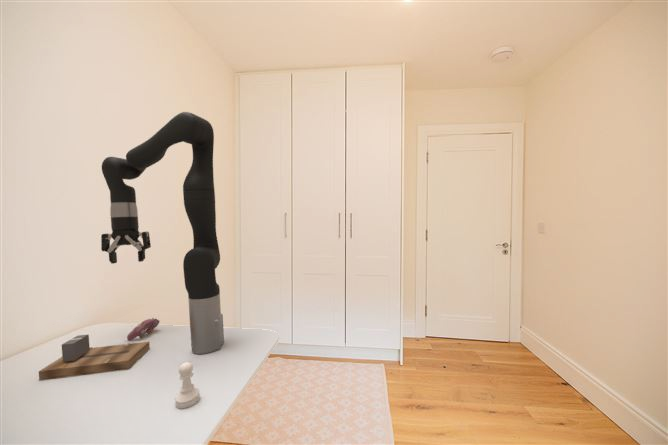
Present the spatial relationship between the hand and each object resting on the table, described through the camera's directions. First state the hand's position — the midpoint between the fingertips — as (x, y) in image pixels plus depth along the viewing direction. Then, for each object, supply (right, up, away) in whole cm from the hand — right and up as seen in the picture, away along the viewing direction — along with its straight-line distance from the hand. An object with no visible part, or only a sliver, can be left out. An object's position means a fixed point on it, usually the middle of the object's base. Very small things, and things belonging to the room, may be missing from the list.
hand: (127, 262), depth 95 cm
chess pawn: (+38, -28, -32) cm, 57 cm away
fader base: (+2, -29, -13) cm, 31 cm away
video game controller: (+2, -28, +6) cm, 29 cm away
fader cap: (-4, -26, -14) cm, 30 cm away
